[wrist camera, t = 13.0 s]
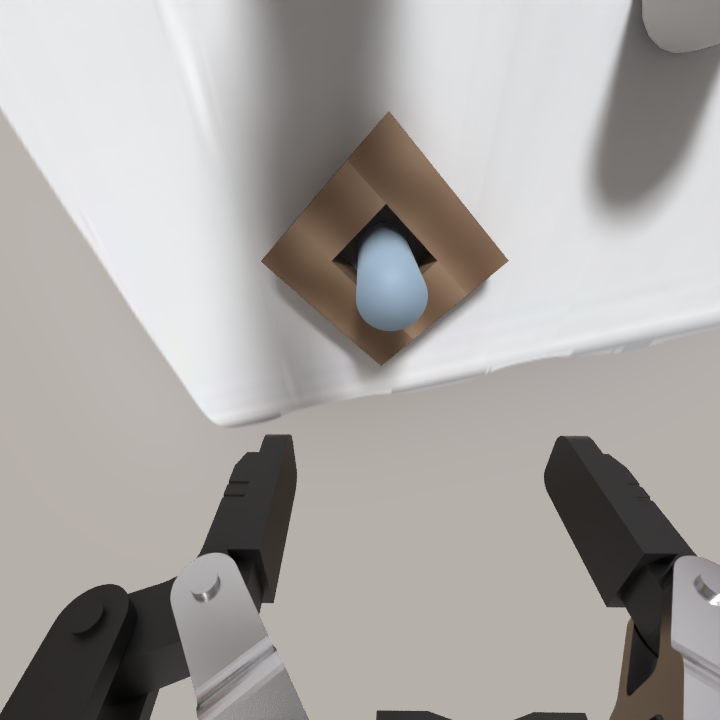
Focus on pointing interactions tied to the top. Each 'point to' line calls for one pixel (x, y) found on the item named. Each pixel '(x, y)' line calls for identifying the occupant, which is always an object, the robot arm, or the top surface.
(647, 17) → the can
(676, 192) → the top surface
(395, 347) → the socket block
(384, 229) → the peg
